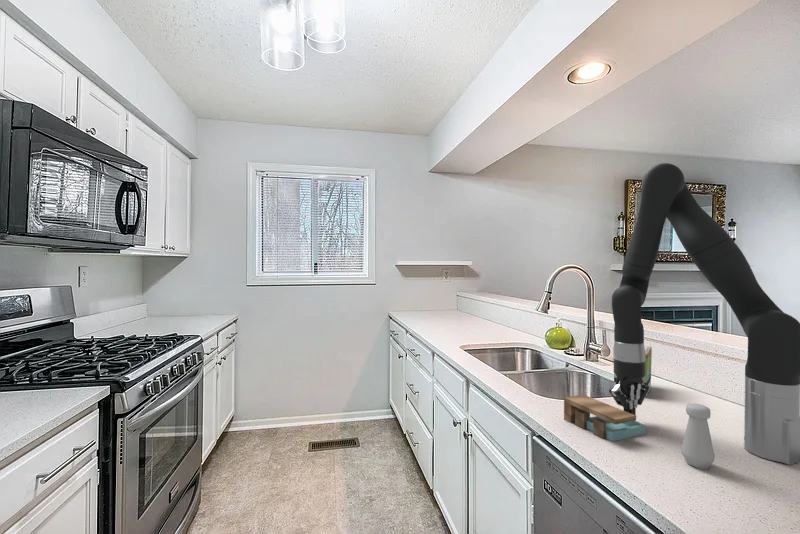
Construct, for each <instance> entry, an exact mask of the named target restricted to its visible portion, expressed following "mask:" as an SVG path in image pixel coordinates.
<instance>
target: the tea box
mask: <svg viewBox="0 0 800 534" xmlns="http://www.w3.org/2000/svg"><path fill="white" fill-rule="evenodd" d="M644 347H645V377H644V378H642V379H643V383H644V384H645V385H647V386H649V390H648V392H647V394H646V396H645V398H644V399H646V398H647V396H648V394H649V391H650V389H651V387H652V359H653V358H652V357H653V355H652V352H653V351H652V350H653V349H652V348H653V347H652V346H645V345H644ZM613 373H614V372H613ZM616 379H617V376H616V374H615V373H614V375H613V388H614V387H615V386H616Z"/></svg>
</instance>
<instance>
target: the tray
mask: <svg viewBox="0 0 800 534" xmlns="http://www.w3.org/2000/svg"><path fill="white" fill-rule="evenodd" d="M594 418H597V419H600V420H602V421H604V422H606V438H605V439H607V440H609V441H610V442H615V441H619V440H623V439H624V440H625V439H627V438H628V439H629V438H631V437H632V438H633V437H636V436H641V435H646V433H647V425H646V424H644V423H642V422H639V421H637V420H635V421H630V422H626V423H621V424H613V423H611V422H609V421H606V420H604V419H602V418H600V417H597V416H595V415H594V416H590V418H587V429H586V430H589V431H591V432H592V433H593V419H594Z"/></svg>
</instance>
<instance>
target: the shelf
mask: <svg viewBox="0 0 800 534" xmlns="http://www.w3.org/2000/svg"><path fill="white" fill-rule="evenodd" d="M591 415H594V417H595V416H597V417H600V418H602V419H604V420H606V421H609V422H611V423H613V424H621V423H626V422H630V421H637V415H634V414H631V413H629V412H626V411H624V409H620V408H618V407H616V406H614V405H610V404H608V403H605V402H603V401H601V400H597V399H596V398H593V397H590V396H588V395H585V394H579V395H578V394H577V395H576V394H575V395H571V396H564V397H563V420H565V421H566V422H569V423H570V424H572V423H574V426H577V427H578V428H580V429H583V430H588V429H587V418H590V417H591ZM592 433H593V435H595V436H597V437H598V438H601V439H602V440H604V439H606V422H604V421H602V420H600V419H597V418H594V419H593V432H592Z"/></svg>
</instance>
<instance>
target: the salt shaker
mask: <svg viewBox="0 0 800 534" xmlns="http://www.w3.org/2000/svg"><path fill="white" fill-rule="evenodd" d="M685 412H686V414H687V415H688V419H687V424H686V429H685V433H684V437H683V441H682V445H681V455H683V457H684V460H685V461H686V463H687V464H688V465H689V466H691V465H692V466H691V467H693V466H694V467H693V468H695V467H696V469H699V468H702V470H708V469H709V468H710V467H711V465H712V464H713V463H714V462H715V451H714V446H713V442H712V436H711V432H710V426H709V422H708V420H709V419H710V418H711V414H712V413H711V409H710V408H709V407H708V406H707V405H703V404H700V403H688V404H687V405H686V408H685Z"/></svg>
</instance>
